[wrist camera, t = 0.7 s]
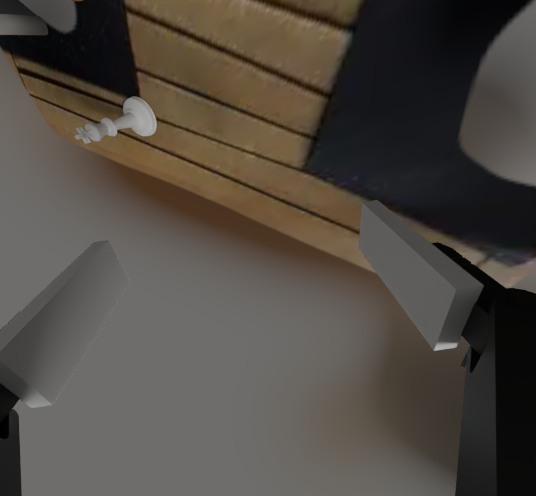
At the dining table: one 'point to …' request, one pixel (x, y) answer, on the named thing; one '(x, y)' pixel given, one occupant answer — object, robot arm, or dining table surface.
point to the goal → (19, 20)
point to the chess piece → (122, 122)
